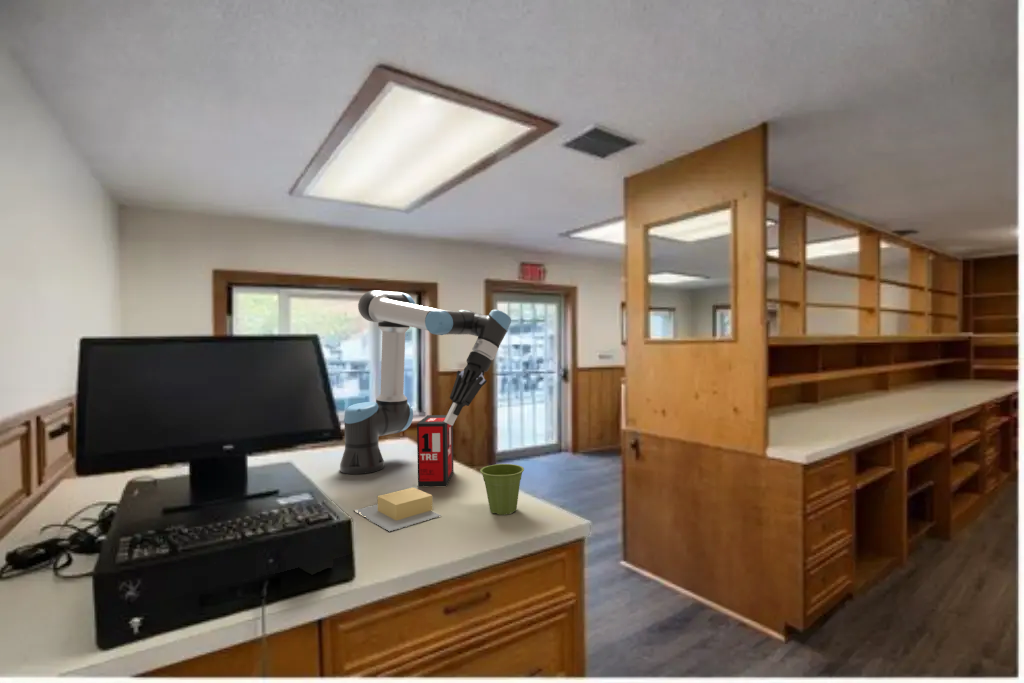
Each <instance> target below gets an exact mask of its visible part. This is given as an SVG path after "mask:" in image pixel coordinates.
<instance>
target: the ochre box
mask: <svg viewBox="0 0 1024 683" xmlns="http://www.w3.org/2000/svg"><path fill="white" fill-rule="evenodd" d="M377 504H378V511H379V512H381V513H383V514H385V515H387V516H389V517H390V518H392V519H394V520H396V521H397V520H400V519H403V518H407V517H410V516H414V515H417V514H421V513H424V512H428V511H433V505H434V504H433V495H432V494H430V493H428V492H425V491H423V490H420V489H418V488H415V487H414V486H412V487H409V488H405V489H401V490H398V491H393V492H387V493H384V494H380V495H377Z"/></svg>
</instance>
